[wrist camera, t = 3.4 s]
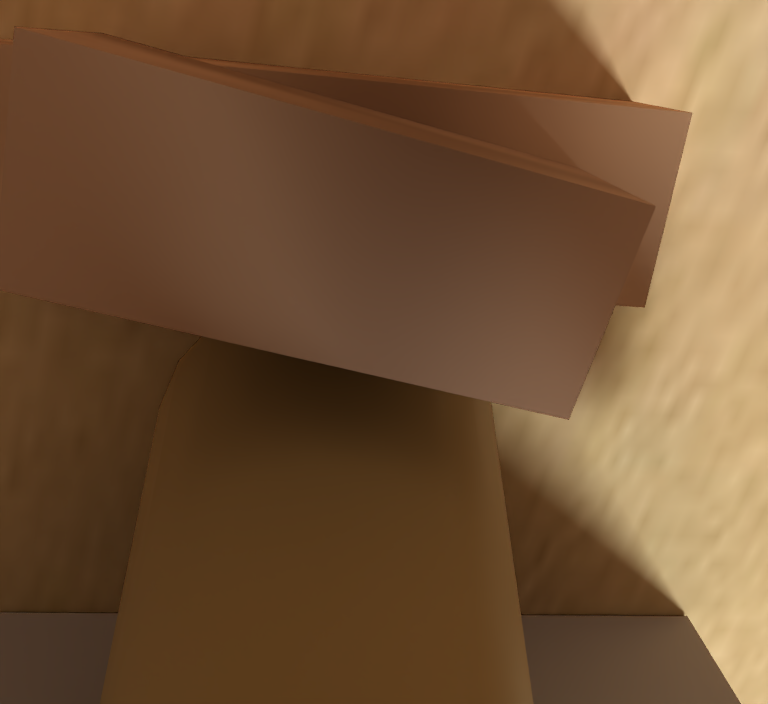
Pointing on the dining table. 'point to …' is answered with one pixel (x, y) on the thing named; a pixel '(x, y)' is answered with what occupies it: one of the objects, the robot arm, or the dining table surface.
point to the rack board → (542, 641)
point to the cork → (317, 544)
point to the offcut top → (304, 223)
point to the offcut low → (508, 132)
